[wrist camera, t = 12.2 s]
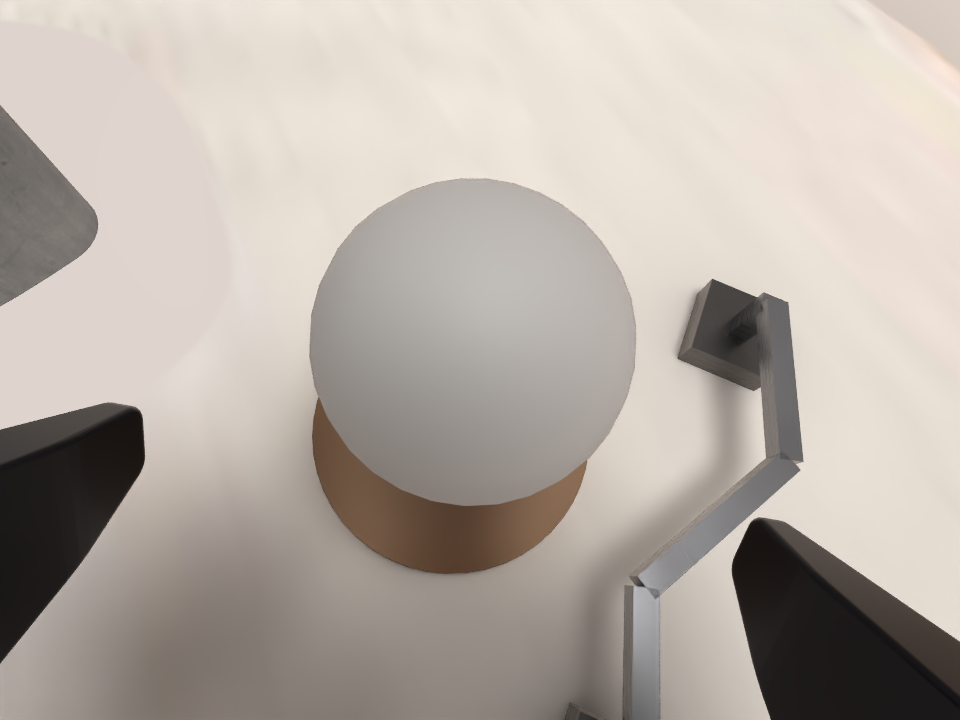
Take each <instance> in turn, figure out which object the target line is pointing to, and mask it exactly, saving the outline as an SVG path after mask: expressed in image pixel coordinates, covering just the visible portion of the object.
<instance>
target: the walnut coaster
mask: <svg viewBox="0 0 960 720" xmlns="http://www.w3.org/2000/svg"><path fill="white" fill-rule="evenodd" d="M312 439H313V455H314V460H315V464H316V469H317V474H318V476H319V479H320V482H321V485H322V488H323V491H324V492H325V494H326V496H327V498H328V500H329V502H330V504H331V506H332V508H333V509H334V511H335V512H336V513H337V515H338V516H339V518H340V519H341V520H342V522H343V523H344V524H345V525H346V526H347V527H348V528H349V529H350V530H351V531H352V533H353V534H354V535H355V536H356V537H357V538H359V539H360V540H361V541H362V542H364V543H365V544H366V545H367V546H369V547H370V548H371V549H373V550H374V551H376V552H378V553H380V554H381V555H383V556H385V557H386V558H388V559H390V560H392V561H395V562H397V563H400V564H402V565H405V566H407V567H410V568H414V569H418V570H422V571H426V572H435V573H445V574H449V573H468V572H474V571H480V570H486V569H489V568H492V567H495V566H498V565H501V564H504V563H506V562H508V561H510V560H512V559H514V558H516V557H518V556H521V555H522V554H524V553H525V552H527V551H528V550H530V549H531V548H533V547H534V546H536V545H537V544H538V543H539V542H540V541H542V540H543V539H544V538H545V537H546V536H547V535H548V534H549V533H551V532H552V530H553V529H554V528H555V527H556V526H557V524H558V523H559V522H560V521H561V520H562V519H563V517H564V516H565V514H566V513H567V511H568V509H569V508H570V506H571V505H572V503H573V501H574V499H575V497H576V495H577V493H578V490H579V488H580V486H581V483H582V480H583V476H584V473H585V470H586V464H587V460H586V461H585V462H584V463H582V464H581V465H580V466H579V467H577V468H576V469H575V470H573V471H572V472H571V473H570V474H568V475H567V476H566V477H565V478H563V479H562V480H560V481H558V482H557V483H555V484H553V485H551V486H549V487H547V488H545V489H543V490H541V491H539V492H537V493H535V494H533V495H531V496H528V497H524V498H520V499H517V500H513V501H509V502H505V503H501V504H495V505H476V506H461V505H455V504H448V503H441V502H435V501H430V500H428V499H425V498H422V497H420V496H417V495H414V494H411V493H409V492H406V491H403V490H401V489H399V488H397V487H396V486H394V485H393V484H391V483H389V482H388V481H386V480H385V479H383V478H381V477H380V476H378V475H376V474H375V473H373V472H372V471H371V470H370V469H369V468H368V467H367V466H366V465H365V464H364V463H363V462H361V461H360V460H359V459H358V458H357V457H356V456H355V455H354V454H353V453H352V452H351V451H350V450H349V449H348V447H347V446H346V444H345V443H344V441H343V440H342V439H341V437H340V436H339V434H338V433H337V431H336V430H335V428H334V427H333V425H332V424H331V422H330V421H329V419H328V417H327V415H326V413H325V411H324V408H323V406H322V403H321V401H320V398H318V400H317V405H316V410H315V414H314V420H313V434H312Z"/></svg>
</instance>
